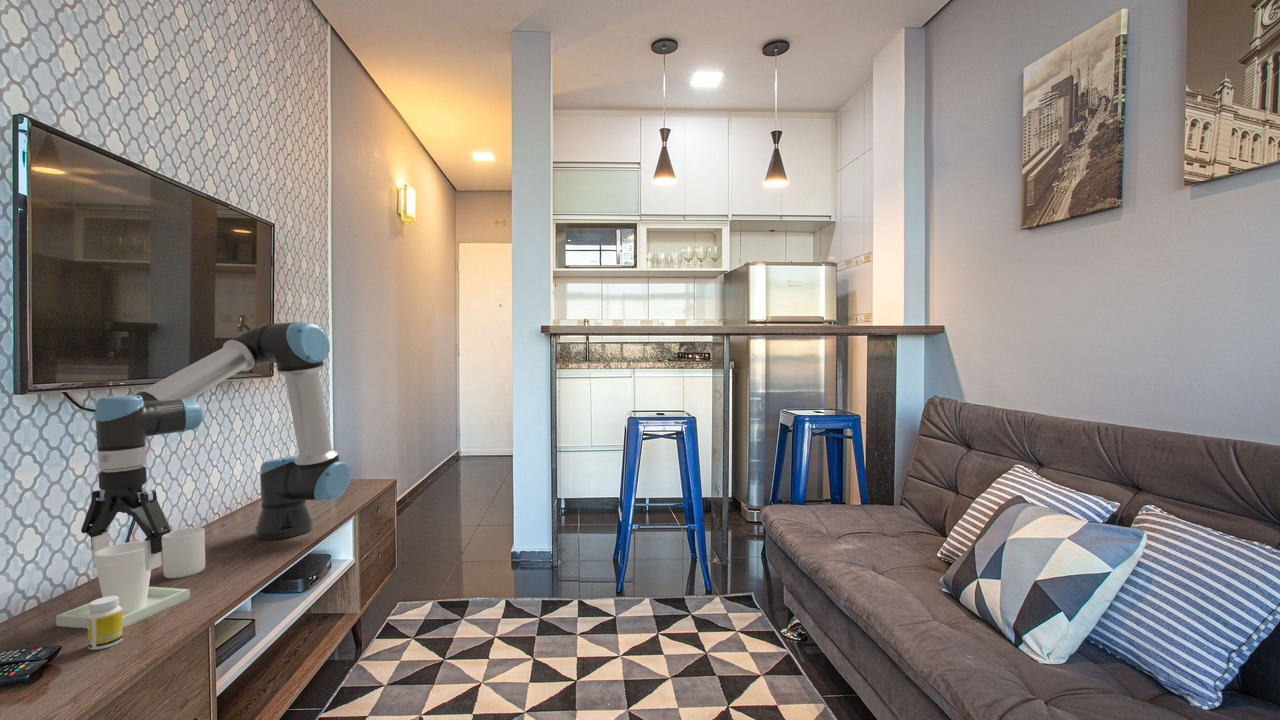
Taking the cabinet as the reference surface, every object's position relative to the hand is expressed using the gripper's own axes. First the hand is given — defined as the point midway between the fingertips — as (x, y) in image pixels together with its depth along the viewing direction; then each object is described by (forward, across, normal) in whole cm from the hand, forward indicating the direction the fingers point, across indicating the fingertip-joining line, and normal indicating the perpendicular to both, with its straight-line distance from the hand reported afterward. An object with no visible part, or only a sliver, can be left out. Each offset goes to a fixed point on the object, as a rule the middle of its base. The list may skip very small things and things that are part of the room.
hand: (127, 566), depth 120 cm
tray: (+9, 0, -1) cm, 9 cm away
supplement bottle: (+9, +11, -13) cm, 19 cm away
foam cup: (+9, 0, -1) cm, 9 cm away
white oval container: (+10, -10, +21) cm, 26 cm away
